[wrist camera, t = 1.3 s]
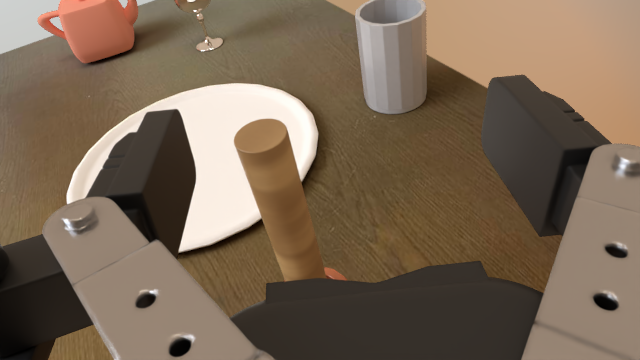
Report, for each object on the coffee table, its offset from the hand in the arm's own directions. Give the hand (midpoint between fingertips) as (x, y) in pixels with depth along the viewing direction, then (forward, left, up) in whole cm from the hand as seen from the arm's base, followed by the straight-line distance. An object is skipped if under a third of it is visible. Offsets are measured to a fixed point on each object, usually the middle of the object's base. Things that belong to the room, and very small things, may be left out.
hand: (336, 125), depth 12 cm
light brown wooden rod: (+5, -6, -25) cm, 26 cm away
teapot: (+49, -61, -25) cm, 82 cm away
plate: (+23, -29, -25) cm, 44 cm away
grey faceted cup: (0, -39, -25) cm, 46 cm away
